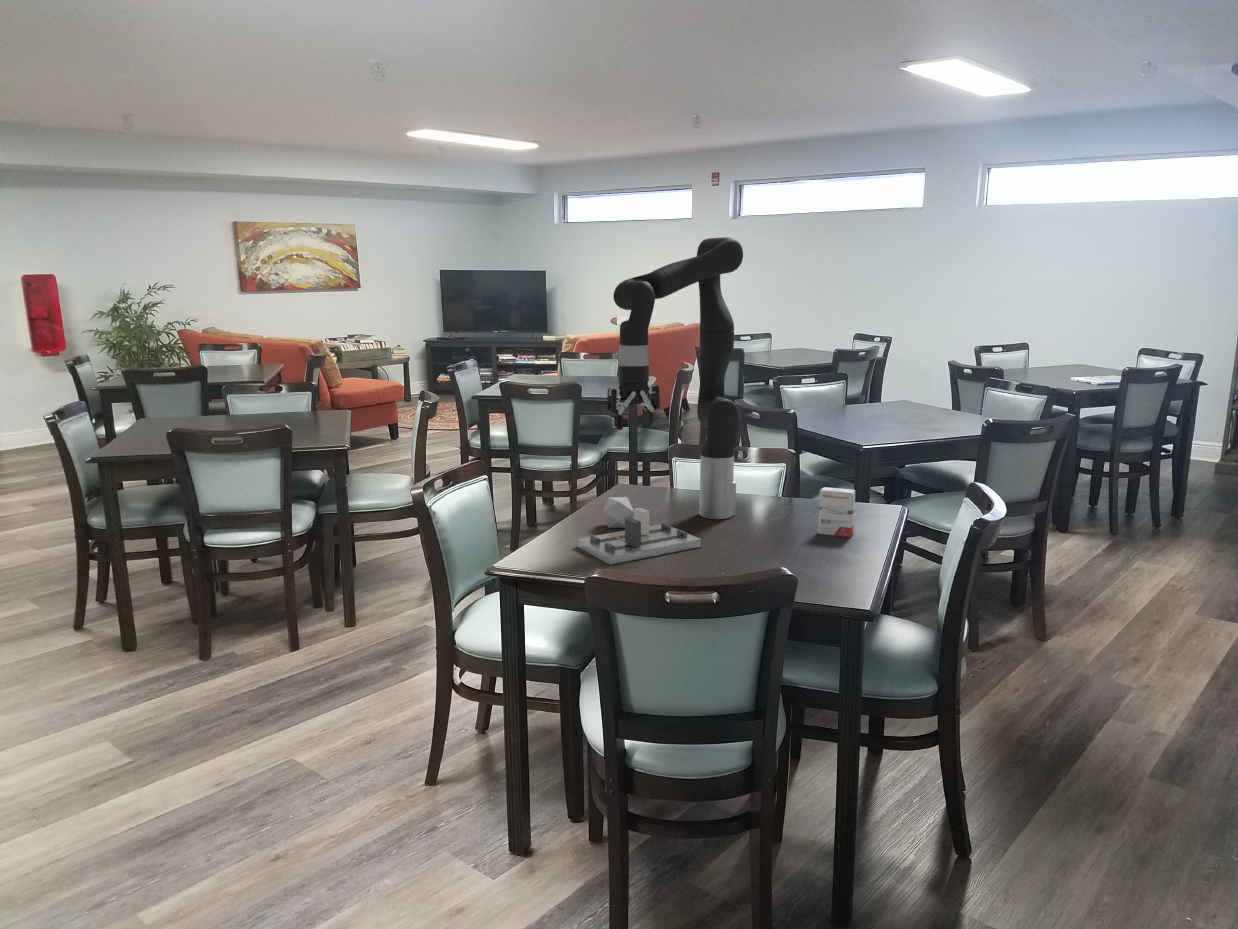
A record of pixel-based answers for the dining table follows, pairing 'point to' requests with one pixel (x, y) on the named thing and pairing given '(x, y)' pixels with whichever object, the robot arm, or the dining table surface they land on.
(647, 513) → the block
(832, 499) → the ink box
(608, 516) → the die
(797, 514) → the dining table surface
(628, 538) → the fader near
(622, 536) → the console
